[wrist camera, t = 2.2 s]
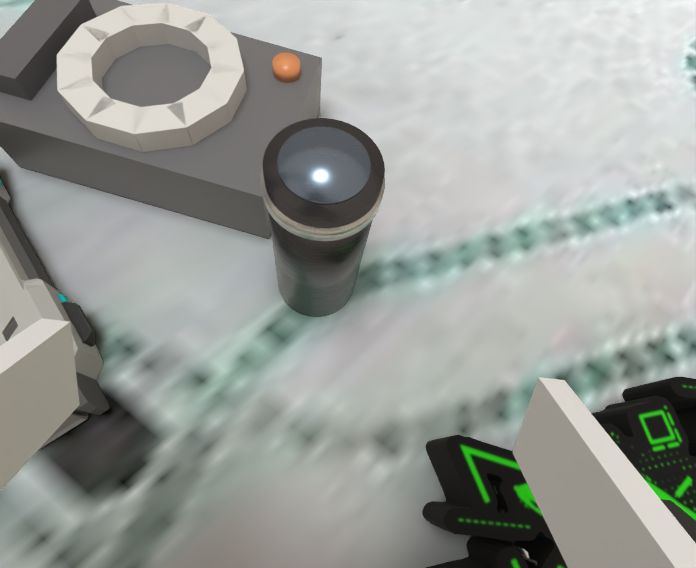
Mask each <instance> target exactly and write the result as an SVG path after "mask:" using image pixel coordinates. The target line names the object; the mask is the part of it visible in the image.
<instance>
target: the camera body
mask: <svg viewBox="0 0 696 568" xmlns="http://www.w3.org/2000/svg"><path fill="white" fill-rule="evenodd" d="M321 69H322V58H320V57H317V56H313V55H310V54H306V53H303V52H299V51H296V50H292V49H288V48H285V47H281V46H278V45H274V44H271V43H267V42H263V41H260V40H256V39H253V38H249V37H246V36H242V35H239V34H235V33H231V32H229V31H228V30H227V29H225V28H224V27H223V26H222V25H221V24H220V23H218V22H217V21H216V20H215V19H214V18H213V17H212V16H210V15H209V14H207V13H203V12H200V11H196V10H193V9H189V8H185V7H182V6H178V5H175V4H171V3H167V2H166V3H153V4H140V5H132V4H128V3H124V2H121V1H117V0H35V1H34V2H33V3H32V5H31V6H30V7H29V8H28V9H27V10H26V11H25V12H24V14H23V15H22V16H21V17H20V18H19V19H18V20H17V21H16V22H15V24H14V25H13V26H12V27H11V28H10V29H9V30H8V31H7V33H6V34H5V35H4V36H3V37H2V38H1V39H0V146H1V147H2V148H3V149H4V151H5V152H6V153H7V154H8V155H9V156H10V157H11V158H12V159H13V160H14V161H15V162H16V163H17V164H18V165H19V166H20V167H22V168H26V169H29V170H33V171H36V172H40V173H43V174H46V175H50V176H53V177H57V178H60V179H64V180H67V181H71V182H74V183H78V184H81V185H84V186H88V187H91V188H95V189H98V190H102V191H105V192H109V193H112V194H116V195H119V196H122V197H126V198H129V199H133V200H136V201H140V202H143V203H147V204H150V205H154V206H157V207H160V208H164V209H167V210H171V211H174V212H178V213H181V214H185V215H188V216H192V217H195V218H198V219H202V220H205V221H209V222H212V223H216V224H219V225H223V226H226V227H230V228H233V229H237V230H240V231H243V232H247V233H250V234H254V235H257V236H261V237H264V238H268V239H269V237H270V235H271V226H270V219H269V212H268V210H267V208H266V205H265V203H264V199H263V194H262V187H261V169H262V165H263V157H264V153H265V150H266V148H267V146H268V144H269V143H270V141H271V140H272V139H273V137H274V136H275V135H276V134H277V133H279V132H280V131H281V130H283V129H284V128H286V127H287V126H289V125H291V124H294V123H296V122H299V121H302V120H307V119H315V118H318V115H319V113H320V91H321Z"/></svg>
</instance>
